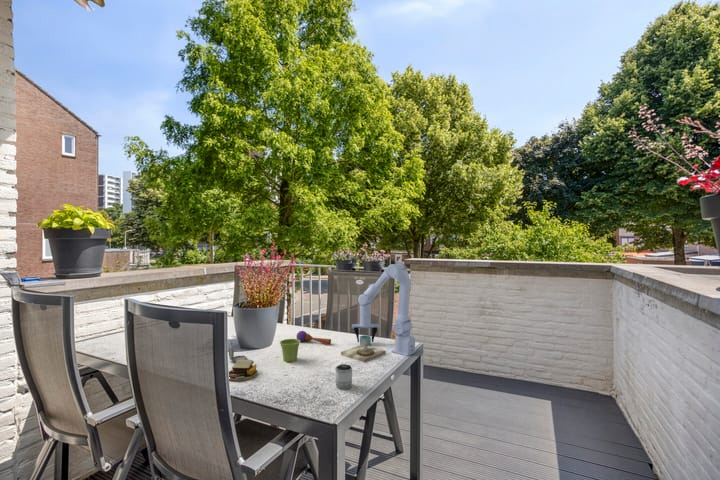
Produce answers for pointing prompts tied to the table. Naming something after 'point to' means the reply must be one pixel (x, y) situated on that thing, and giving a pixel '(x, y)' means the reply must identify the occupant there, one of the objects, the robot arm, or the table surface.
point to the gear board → (363, 352)
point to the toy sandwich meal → (243, 370)
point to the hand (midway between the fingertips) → (365, 341)
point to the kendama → (311, 338)
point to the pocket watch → (231, 354)
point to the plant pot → (290, 349)
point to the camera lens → (343, 376)
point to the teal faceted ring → (365, 339)
